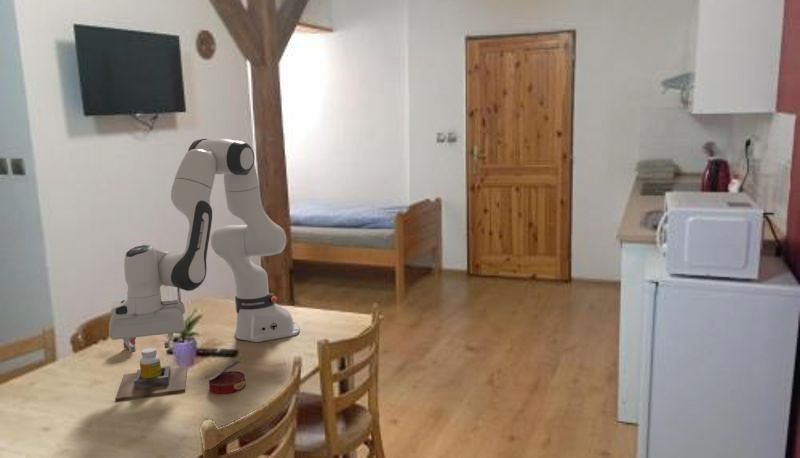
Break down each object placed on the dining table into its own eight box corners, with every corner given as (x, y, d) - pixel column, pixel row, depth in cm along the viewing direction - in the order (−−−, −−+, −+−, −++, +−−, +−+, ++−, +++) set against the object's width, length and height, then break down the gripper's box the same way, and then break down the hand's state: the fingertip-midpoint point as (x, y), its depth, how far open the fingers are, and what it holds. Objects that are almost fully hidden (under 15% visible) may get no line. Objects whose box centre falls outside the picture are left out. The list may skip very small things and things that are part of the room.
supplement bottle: (153, 387, 184) (150, 354, 182) (137, 385, 185) (134, 352, 184) (165, 379, 189) (162, 347, 187) (150, 377, 190) (147, 346, 189)
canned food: (222, 411, 180) (203, 386, 175) (214, 394, 188) (196, 370, 184) (257, 386, 183) (239, 360, 178) (248, 370, 191) (230, 346, 187)
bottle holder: (187, 368, 199) (186, 358, 198) (185, 391, 182) (184, 380, 181) (124, 376, 194) (122, 366, 193) (115, 401, 177) (114, 389, 176)
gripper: (184, 296, 190) (188, 341, 192) (108, 304, 184) (114, 350, 187) (183, 302, 184) (187, 348, 186) (104, 310, 178) (110, 358, 181)
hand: (150, 349), depth 187 cm, fingers open, 8 cm apart
